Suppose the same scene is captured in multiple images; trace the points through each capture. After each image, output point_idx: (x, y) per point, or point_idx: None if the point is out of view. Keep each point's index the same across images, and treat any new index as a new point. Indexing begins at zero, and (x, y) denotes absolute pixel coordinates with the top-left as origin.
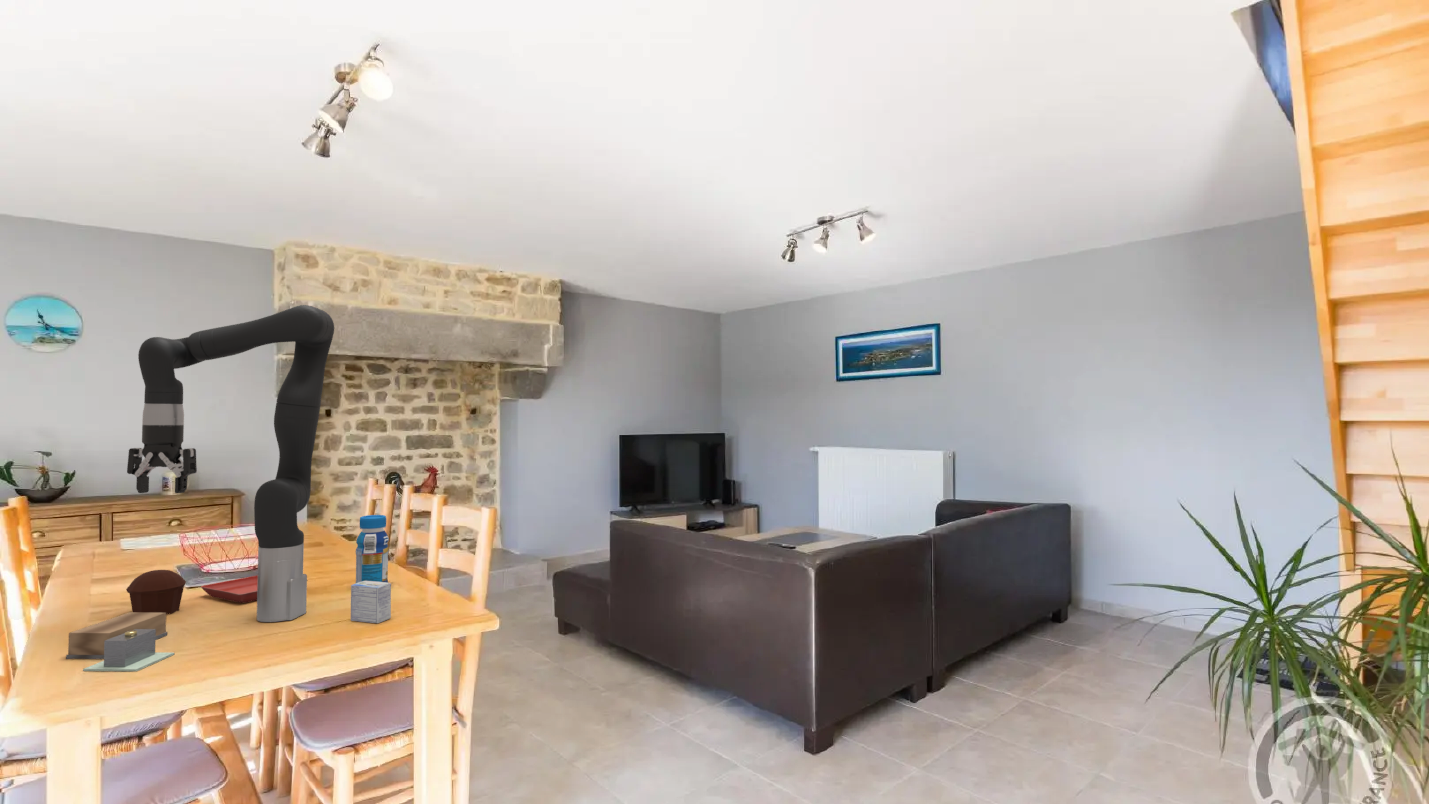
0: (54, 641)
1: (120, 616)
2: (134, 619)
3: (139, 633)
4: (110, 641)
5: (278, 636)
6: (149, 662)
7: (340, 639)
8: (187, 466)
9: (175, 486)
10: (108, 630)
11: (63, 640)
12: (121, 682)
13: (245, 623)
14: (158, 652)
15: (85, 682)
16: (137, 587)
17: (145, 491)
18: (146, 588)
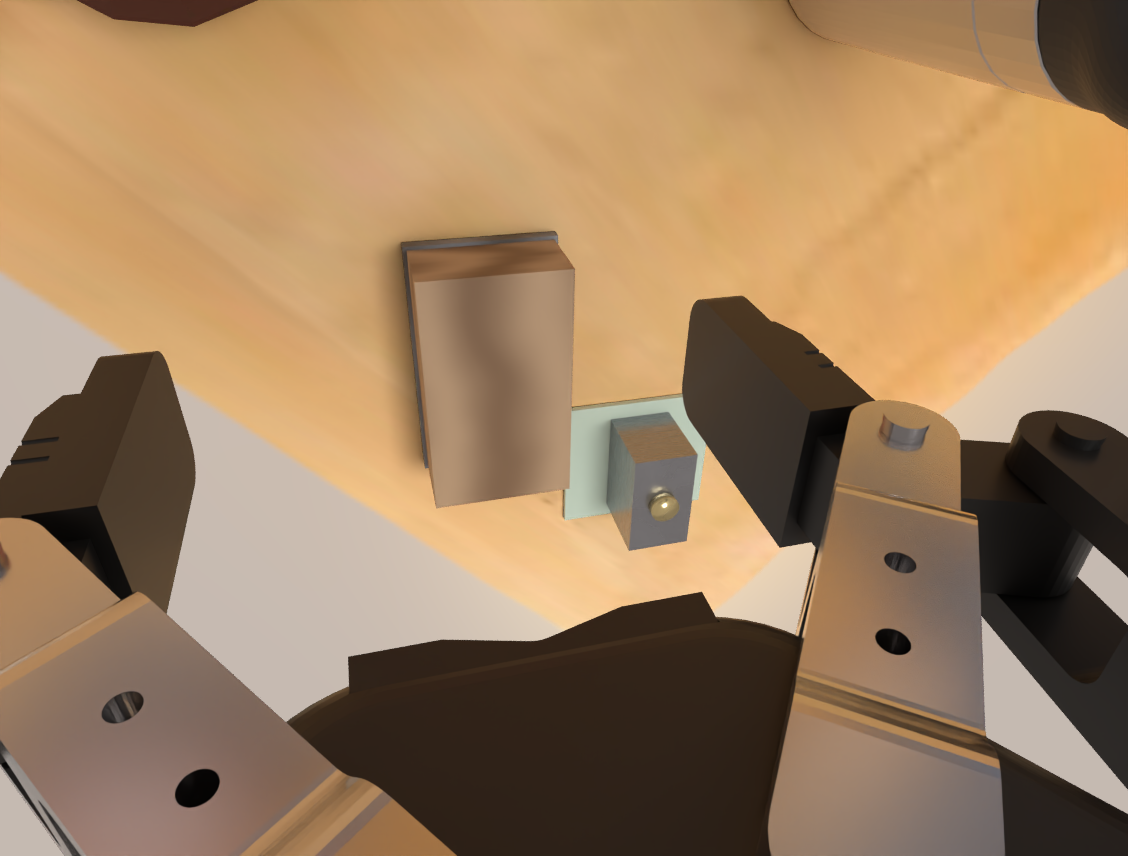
0: (181, 339)
1: (434, 338)
2: (524, 362)
3: (678, 491)
4: (644, 546)
5: (935, 204)
6: (698, 461)
7: (1114, 215)
8: (1099, 659)
9: (722, 456)
10: (543, 470)
11: (204, 326)
12: (708, 544)
13: (761, 52)
14: (667, 398)
15: (629, 559)
16: (142, 6)
17: (171, 402)
18: (211, 9)
